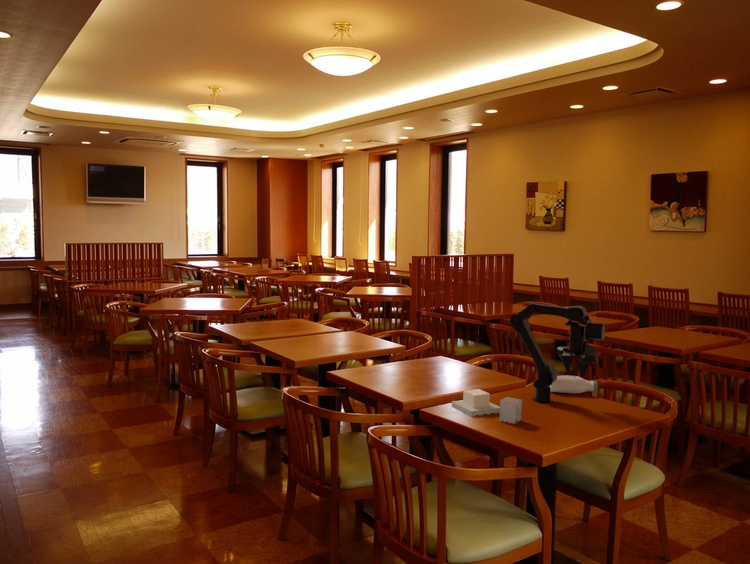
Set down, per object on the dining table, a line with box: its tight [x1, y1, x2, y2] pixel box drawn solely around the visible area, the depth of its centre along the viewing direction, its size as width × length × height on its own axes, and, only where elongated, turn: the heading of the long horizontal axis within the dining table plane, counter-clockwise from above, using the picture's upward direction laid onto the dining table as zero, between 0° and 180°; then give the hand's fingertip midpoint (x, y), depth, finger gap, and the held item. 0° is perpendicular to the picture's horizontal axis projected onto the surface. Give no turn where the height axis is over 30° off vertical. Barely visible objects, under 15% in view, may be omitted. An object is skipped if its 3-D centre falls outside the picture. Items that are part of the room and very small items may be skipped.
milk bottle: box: [550, 374, 599, 395], centre depth 269 cm, size 8×8×20 cm
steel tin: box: [498, 396, 523, 425], centre depth 228 cm, size 6×6×8 cm
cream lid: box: [462, 388, 491, 408], centre depth 241 cm, size 7×7×5 cm
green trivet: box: [451, 399, 500, 417], centre depth 242 cm, size 14×14×2 cm
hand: (574, 375), depth 247 cm, fingers open, 9 cm apart
